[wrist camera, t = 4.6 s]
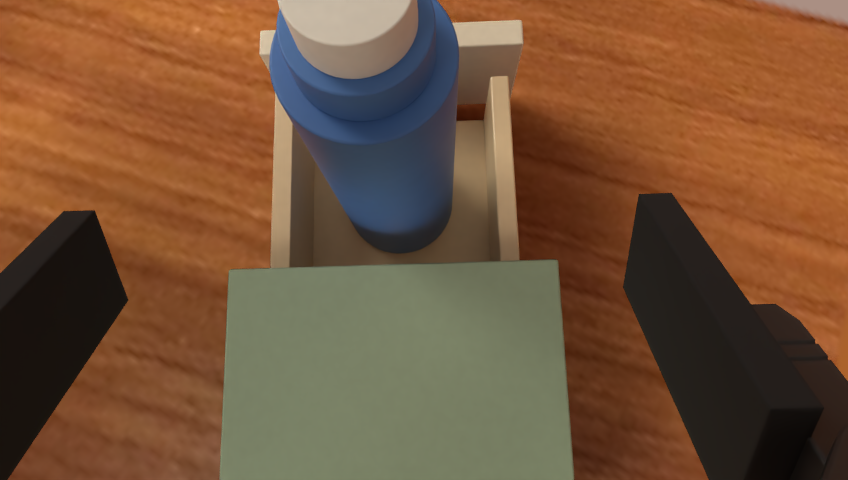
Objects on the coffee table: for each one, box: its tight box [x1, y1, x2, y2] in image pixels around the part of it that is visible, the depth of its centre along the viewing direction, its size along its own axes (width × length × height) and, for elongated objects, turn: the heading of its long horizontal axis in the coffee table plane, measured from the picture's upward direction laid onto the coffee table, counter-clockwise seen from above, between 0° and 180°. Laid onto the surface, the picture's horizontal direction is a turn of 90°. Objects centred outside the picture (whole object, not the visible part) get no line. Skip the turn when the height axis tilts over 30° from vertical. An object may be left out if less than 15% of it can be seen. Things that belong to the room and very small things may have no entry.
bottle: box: [269, 0, 459, 253], centre depth 21 cm, size 5×5×17 cm
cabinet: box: [219, 259, 575, 480], centre depth 25 cm, size 14×13×8 cm
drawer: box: [260, 20, 524, 268], centre depth 28 cm, size 14×11×6 cm
